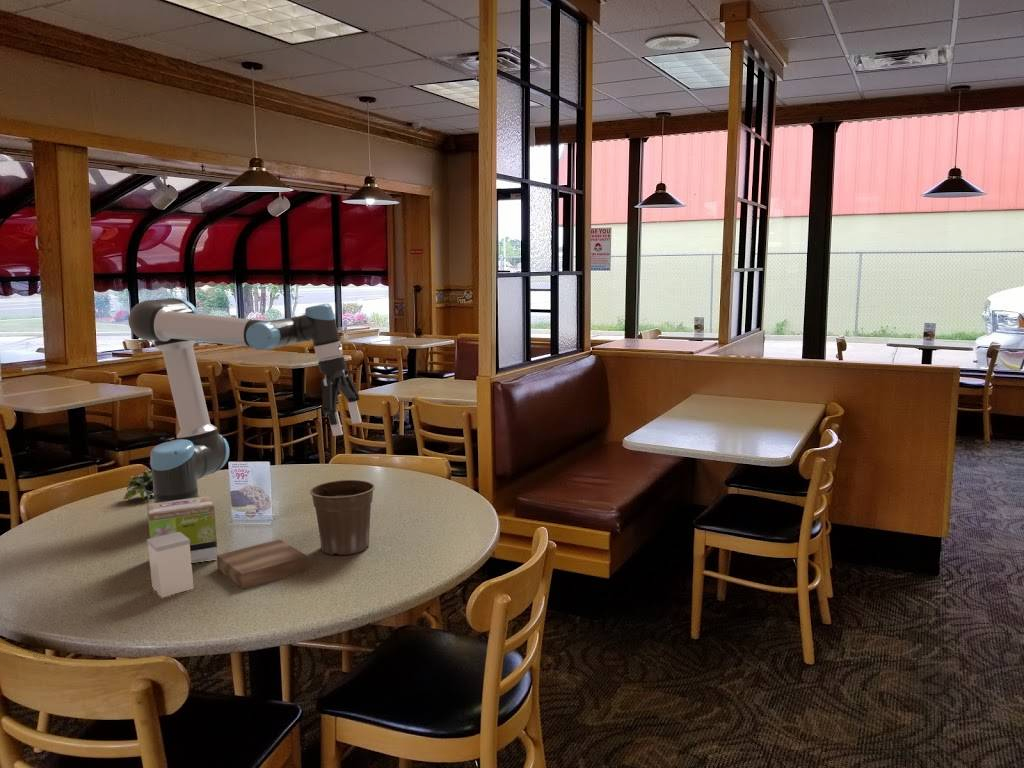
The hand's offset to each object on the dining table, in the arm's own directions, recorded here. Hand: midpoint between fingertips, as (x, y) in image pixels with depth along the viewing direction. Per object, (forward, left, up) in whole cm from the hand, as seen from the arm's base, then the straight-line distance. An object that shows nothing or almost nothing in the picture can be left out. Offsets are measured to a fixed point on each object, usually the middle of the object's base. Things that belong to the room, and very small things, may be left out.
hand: (347, 429), depth 223 cm
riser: (+23, -37, -26) cm, 50 cm away
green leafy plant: (-60, -41, -26) cm, 77 cm away
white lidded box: (+20, -57, -26) cm, 65 cm away
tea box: (+3, -49, -26) cm, 55 cm away
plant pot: (+24, -15, -26) cm, 38 cm away
